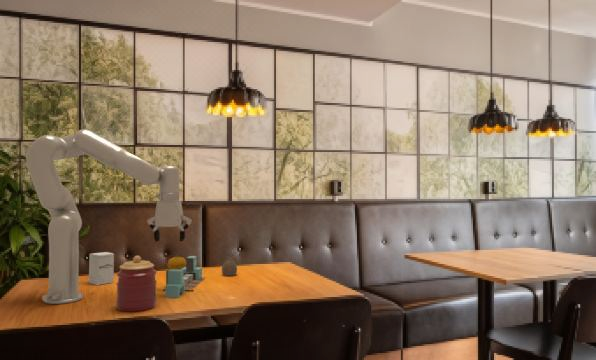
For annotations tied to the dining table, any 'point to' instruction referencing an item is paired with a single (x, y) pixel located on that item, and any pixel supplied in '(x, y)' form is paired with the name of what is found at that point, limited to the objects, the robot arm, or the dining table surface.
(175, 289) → the teal block toy
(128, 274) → the canister
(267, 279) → the dining table surface
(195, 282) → the rail board
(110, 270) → the supplement box
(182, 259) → the apple
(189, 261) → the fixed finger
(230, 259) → the vase
